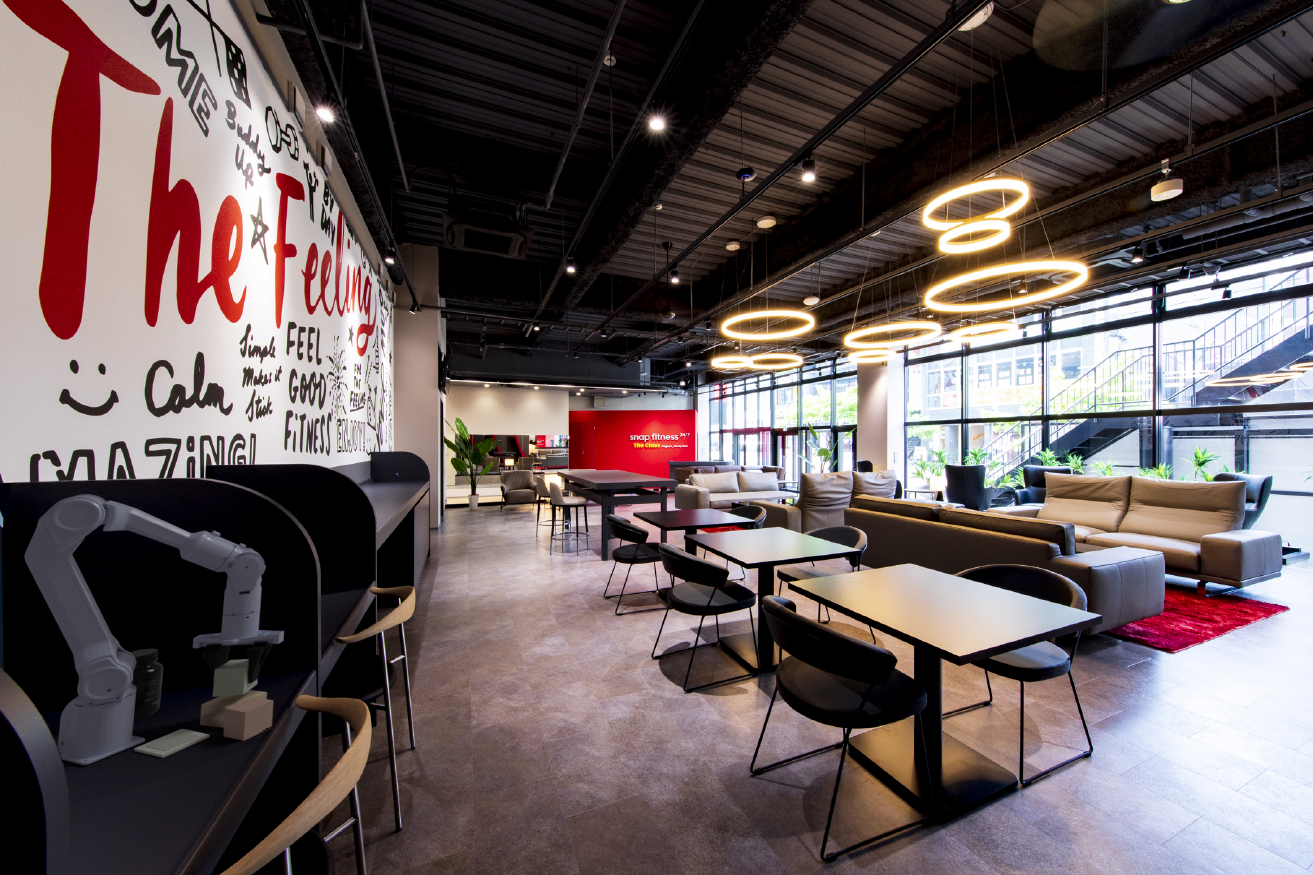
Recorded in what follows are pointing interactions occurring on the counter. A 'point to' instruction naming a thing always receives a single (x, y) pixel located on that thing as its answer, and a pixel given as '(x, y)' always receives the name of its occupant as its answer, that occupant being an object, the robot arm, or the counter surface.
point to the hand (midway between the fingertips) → (236, 682)
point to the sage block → (232, 678)
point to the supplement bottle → (147, 682)
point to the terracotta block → (248, 718)
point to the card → (171, 743)
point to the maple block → (216, 708)
